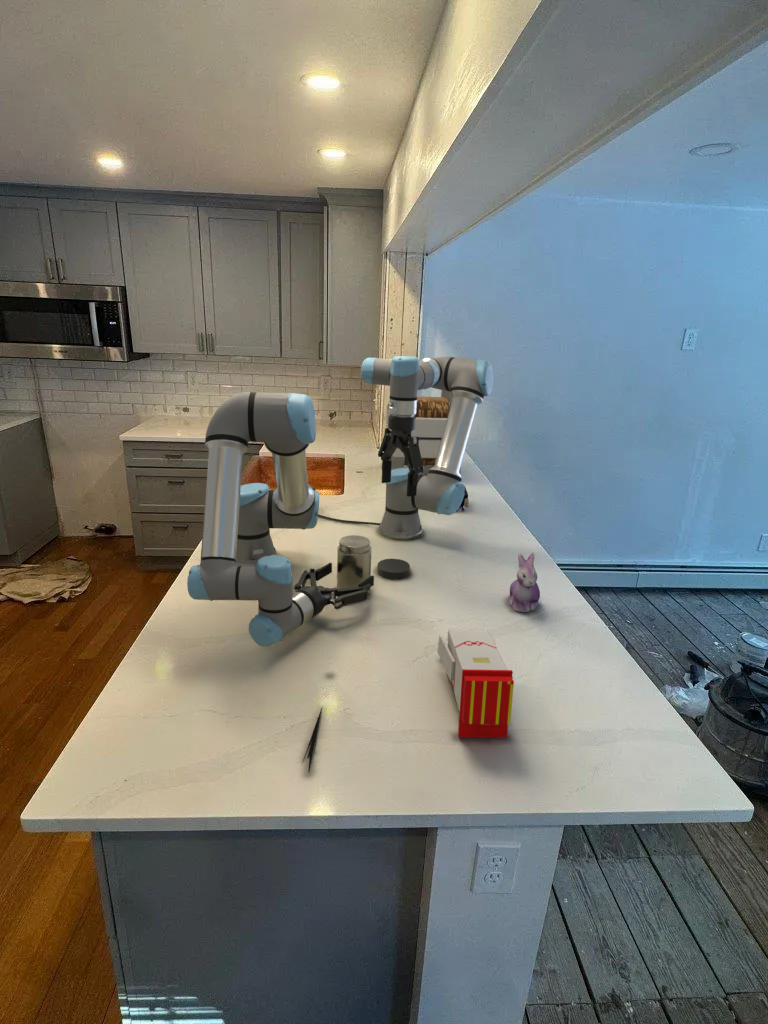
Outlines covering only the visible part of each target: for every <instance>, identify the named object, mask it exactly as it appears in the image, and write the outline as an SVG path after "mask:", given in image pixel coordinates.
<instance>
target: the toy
mask: <svg viewBox="0 0 768 1024" xmlns="http://www.w3.org/2000/svg"><path fill="white" fill-rule="evenodd" d="M446 640H447V643H446V641H445V639H444V636H443V635H442V634H439V637H438V646H437V656H438V657H439V659H440V661H441V663H442V666H443V668H444V670H445V672H446V674H447V677H448V679H449V681H450V684H451V687H452V690H453V693H454V697H455V701H456V705H457V708H458V711H459V714H458V715H459V716H458V730H457V731H458V732H457V737H458V738H508V731H509V726H510V725H511V717H512V707H513V697H514V696H513V695H514V684H515V680H514V679H513V673H514V671H513V670H512V669H508V667H507V665H506V662H505V661H504V659H503V658H502V655H501V653H500V651H499V649H498V647H497V643H496V639H495V637H494V635H493V634H491V632H490V631H489V629H467V628H466V629H465V628H463V629H461V628H460V629H459V628H448V630H447V639H446Z"/></svg>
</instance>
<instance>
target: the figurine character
mask: <svg viewBox="0 0 768 1024" xmlns="http://www.w3.org/2000/svg"><path fill="white" fill-rule="evenodd" d="M469 505H470V500H469V492H468V490H467V488H466V486H465V491H464V498H463V500H462V503H461V505H460V507H459V508H458V509H461V511H462V512H464V511H465V508H469Z"/></svg>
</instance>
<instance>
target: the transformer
mask: <svg viewBox="0 0 768 1024" xmlns="http://www.w3.org/2000/svg"><path fill="white" fill-rule="evenodd" d="M440 393H441V394H440V396H418V395H417V411H416V414H415V415H414V416H415V417H416V424H415V429H414V430H413V431H412V432H411V434H412V437H417V436H418V438H419V449H420V454H421V459H422V464H423V467H434V465H435V461H436V458H437V454H438V450H439V447H440V443H441V439H442V436H443V432H444V428H445V425H446V421H447V417H448V414H449V410H450V406H451V403H452V398H451V396H450V395H449V393H450V391H444V390H441V392H440ZM389 402H390V400H389ZM389 402H388V404H387V405H386V413H385V414H386V415H385V423H386V427H385V428H388V418H389V415H390V413H389ZM408 448H409V446H408ZM388 461H389V460H388ZM391 461H392V465H391V470H393V469H397V468H405V466H406V467H408V465H407V462H406V459H405V456H404V453H403V452H401V450H400V449H399V448H397V449H396V450H395V452H394V453H393V455H392V457H391ZM461 472H462V466H461V467H460V470H459V474H460V475H461Z"/></svg>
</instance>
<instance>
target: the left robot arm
mask: <svg viewBox="0 0 768 1024" xmlns="http://www.w3.org/2000/svg"><path fill="white" fill-rule="evenodd" d="M207 425H208V426H207V428H206V431H205V438H204V448H205V449H206V451H208V460H207V472H206V484H205V497H204V510H203V525H202V535H201V549H200V564H196V565H192V566H191V567H190V569H189V571H188V575H187V582H186V583H187V584H186V585H187V593H188V595H189V597H190V598H192V599H193V600H196V601H197V600H198V601H210V602H214V601H257V606H258V613H257V614H255V615H254V617H252V618H251V619H250V621H249V623H248V633H249V636H250V638H251V640H253V642H254V643H255V644H256V645H258V646H261V647H263V648H269V647H272V646H273V645H275V644H277V643H279V642H281V641H283V640H284V639H285V638H286V637H287V636H289V635H291V634H292V633H293V632H294V631H295V630H297V629H299V628H300V627H301V626H303V625H304V624H305V623H307V622H308V621H310V620H311V619H313V618H314V617H316V616H318V615H319V614H320V613H321V612H322V611H323V610H324V609H325V607H327V606H329V605H332V606H333V607H334V608H333V609H335V610H339V609H340V608H343V607H345V606H350V605H353V604H357V603H361V602H364V601H368V600H369V596H368V591H369V590H370V591H371V589H372V587H373V586H374V585H375V576H374V575H372V574H371V576H370V577H369V578H367V579H366V580H364V581H363V582H361V583H360V584H359V585H358V587H352V588H344V589H337V587H331V588H329V587H325V586H323V585H317V582H318V581H320V580H322V579H324V578H325V577H327V576H328V575H330V574H331V573H333V563H332V562H328V563H327V564H326V565H324V566H322V567H320V568H319V567H318V568H317V569H315V568H310V569H309V571H308V570H307V569H304V570H302V573H301V575H300V578H298V581H297V583H296V584H294V585H293V581H294V579H293V578H294V577H293V572H292V570H293V569H292V562H291V561H290V559H288V557H285V556H283V555H279V554H277V550H276V547H275V546H274V543H273V540H272V536H271V532H270V531H271V529H286V530H289V529H290V530H293V529H294V530H309V529H310V530H312V529H315V528H316V526H317V525H318V519H319V517H318V515H319V509H320V493H319V491H318V490H316V489H315V490H316V491H315V490H313V489H312V488H311V486H312V485H311V484H309V477H308V467H307V454H306V453H307V452H306V450H307V449H308V447H309V446H310V444H312V443H315V441H316V436H317V421H316V411H315V406H314V403H313V399H312V398H311V397H310V396H309V395H307V394H305V393H303V394H302V393H296V392H260V391H259V392H253V391H241V392H238V393H236V394H233V395H232V396H230V397H228V398H227V399H225V400H224V401H223V402H222V403H221V404H220V406H219V407H218V408H217V409H216V410H215V411H214V413H213V415H212V416H211V418H210V421H209V423H208V424H207ZM250 442H251V443H263V444H264V447H265V448H266V449H267V450H268V452H270V453H271V456H272V462H273V467H274V475H275V480H276V481H275V482H276V486H277V487H276V489H270V487H269V485H268V484H267V483H262V482H253V483H252V482H251V483H246V484H242V474H243V473H242V472H243V471H242V470H243V457H244V455H245V454H246V453H247V452H248V447H249V446H248V445H249V443H250ZM310 485H311V486H310ZM308 580H309V583H310V585H307V582H308Z"/></svg>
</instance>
